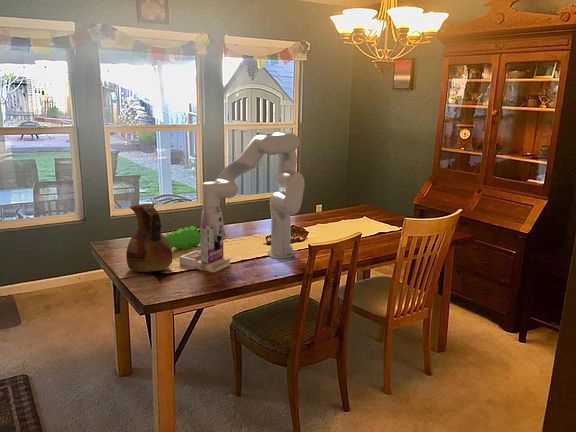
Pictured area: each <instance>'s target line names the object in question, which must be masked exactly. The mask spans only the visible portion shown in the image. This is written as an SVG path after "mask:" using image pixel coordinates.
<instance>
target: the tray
mask: <svg viewBox="0 0 576 432" xmlns="http://www.w3.org/2000/svg"><path fill="white" fill-rule="evenodd" d="M198 253H201V250H194V251H192V252H191V251H190V252H188V253H186V254H183V255H180V256H179V257H178V258H179V266H182V267H187V268H192V269H196V259H191V258H190V257H191V256H194V255H198Z"/></svg>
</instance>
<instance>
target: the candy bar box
mask: <svg viewBox="0 0 576 432" xmlns="http://www.w3.org/2000/svg"><path fill="white" fill-rule="evenodd" d="M199 229H200V244H199V245H200V251H201V262H204V263H208V264H209V263H212V262H214V261H216V260H218V259H221V258H223V257H224V258H225V256H224V238H223V239H222V240H221V241H220V249H219V250H216V251H215V245H214V242H216V241H215V236H214V234H213V227H210V226H202V227H201V226H200V227H199ZM220 236H221V234H220ZM217 237H218V236H217Z"/></svg>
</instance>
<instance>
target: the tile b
mask: <svg viewBox="0 0 576 432" xmlns="http://www.w3.org/2000/svg"><path fill="white" fill-rule="evenodd" d="M190 258H191V259H196V262H197V261H199V260H200V255H194V256H191V257H190Z"/></svg>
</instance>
